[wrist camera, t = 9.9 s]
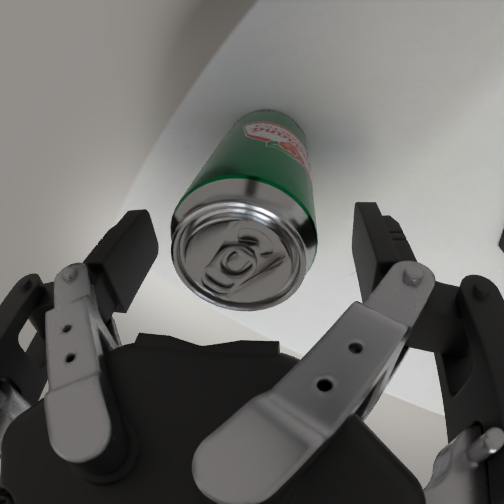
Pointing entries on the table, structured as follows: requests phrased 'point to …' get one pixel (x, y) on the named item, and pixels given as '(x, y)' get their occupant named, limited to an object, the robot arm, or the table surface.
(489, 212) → the table surface
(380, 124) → the table surface
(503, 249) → the dark grey flat block
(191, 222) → the soda can
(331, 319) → the table surface
